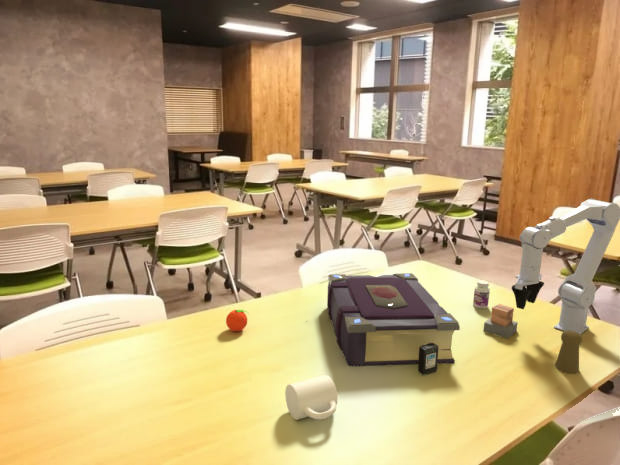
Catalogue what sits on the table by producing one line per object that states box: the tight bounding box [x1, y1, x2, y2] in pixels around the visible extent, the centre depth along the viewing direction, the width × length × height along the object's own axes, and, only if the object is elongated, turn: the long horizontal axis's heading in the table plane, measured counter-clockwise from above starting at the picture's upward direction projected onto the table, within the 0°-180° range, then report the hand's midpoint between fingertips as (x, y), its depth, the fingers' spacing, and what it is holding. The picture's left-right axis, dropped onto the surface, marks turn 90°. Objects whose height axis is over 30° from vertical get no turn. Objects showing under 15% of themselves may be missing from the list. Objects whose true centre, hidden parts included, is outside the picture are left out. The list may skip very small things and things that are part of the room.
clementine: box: [225, 309, 248, 332], centre depth 151 cm, size 8×7×7 cm
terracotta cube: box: [490, 303, 515, 326], centre depth 153 cm, size 5×5×5 cm
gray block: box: [483, 317, 519, 340], centre depth 154 cm, size 8×8×4 cm
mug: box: [284, 374, 338, 421], centre depth 107 cm, size 12×10×8 cm
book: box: [326, 272, 461, 367], centre depth 151 cm, size 33×45×14 cm
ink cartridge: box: [417, 343, 439, 376], centre depth 127 cm, size 5×2×8 cm, turn 117°
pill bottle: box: [472, 280, 491, 309], centre depth 174 cm, size 5×5×10 cm
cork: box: [554, 331, 583, 375], centre depth 130 cm, size 6×6×11 cm
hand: (525, 305), depth 149 cm, fingers open, 7 cm apart
